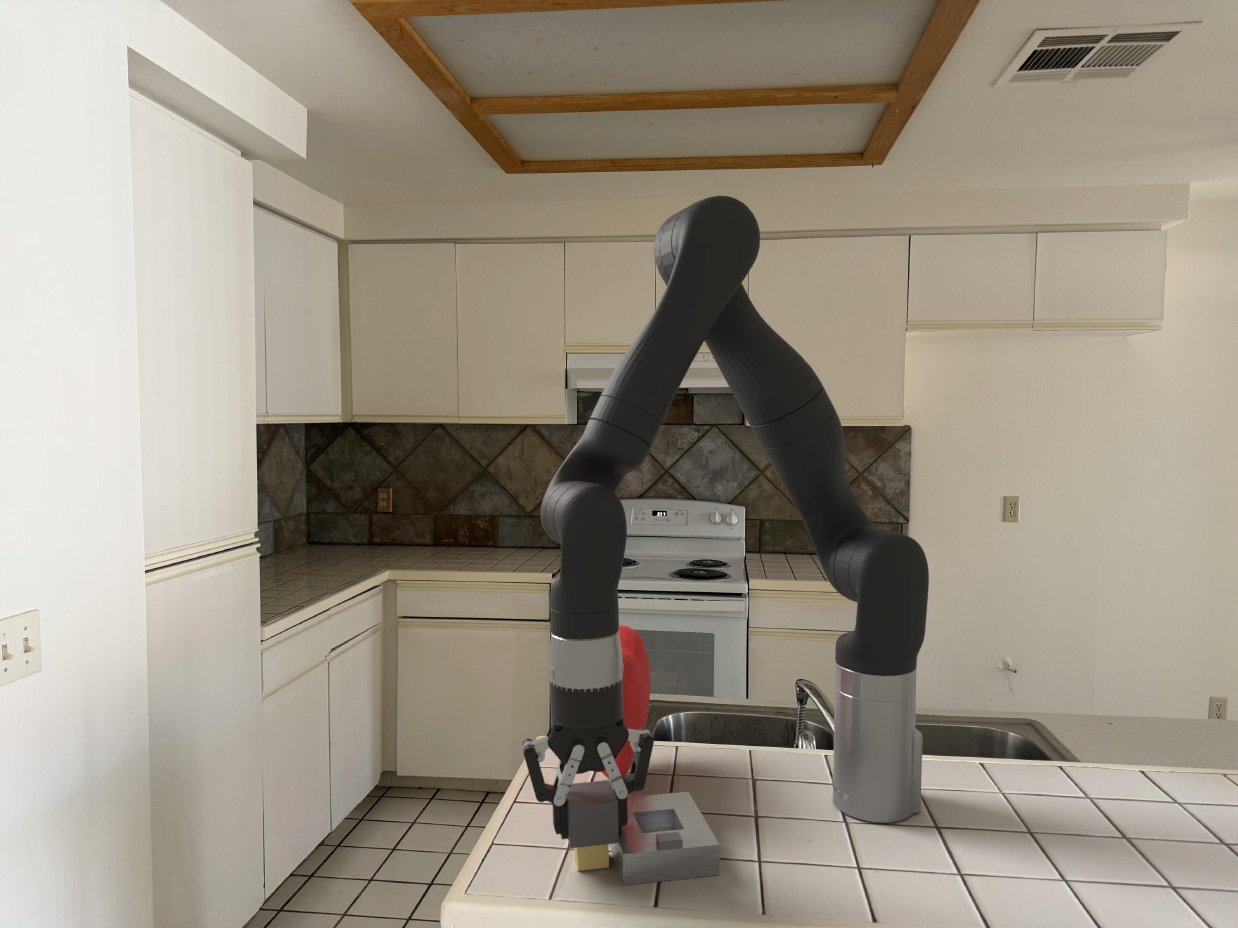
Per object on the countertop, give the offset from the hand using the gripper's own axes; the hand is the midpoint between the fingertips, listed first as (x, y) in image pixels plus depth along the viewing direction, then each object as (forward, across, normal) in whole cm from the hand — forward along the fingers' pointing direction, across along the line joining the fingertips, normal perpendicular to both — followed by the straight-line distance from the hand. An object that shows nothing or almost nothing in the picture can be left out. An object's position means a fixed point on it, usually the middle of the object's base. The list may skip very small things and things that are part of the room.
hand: (590, 831), depth 89 cm
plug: (+3, 0, 0) cm, 3 cm away
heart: (+4, -6, -18) cm, 20 cm away
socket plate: (+3, -8, -1) cm, 8 cm away
